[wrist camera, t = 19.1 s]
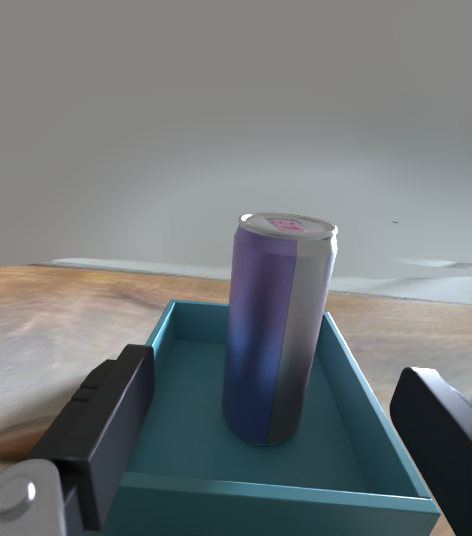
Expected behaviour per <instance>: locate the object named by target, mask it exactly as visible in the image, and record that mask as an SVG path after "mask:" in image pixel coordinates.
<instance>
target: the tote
mask: <svg viewBox="0 0 472 536" xmlns="http://www.w3.org/2000/svg"><path fill="white" fill-rule="evenodd" d="M228 313H229V304H223V303H211V302H199V301H187V300H176V299H171V300H170V302H169V304H168V305H167V307H166V309H165V311H164V312H163V314H162V316H161V318H160V320H159V321H158V323H157V325H156V327H155V328H154V330H153V332H152V334H151V335H150V337H149V339H148V341H147V343H146V344H145V345H147V346H152V347H153V349H154V369H155V390H154V396H153V400H152V403H151V406H150V409H149V411H148V414H147V416H146V419H145V421H144V424H143V426H142V429H141V431H140V434H139V436H138V439H137V441H136V444H135V446H134V449H133V451H132V454H131V456H130V459H129V461H128V464H127V466H126V469H125V471H124V474H123V476H122V479H121V482H120V484H119V487H118V489H117V492H116V494H115V497H114V499H113V502H112V504H111V507H110V509H109V512H108V514H107V517H106V519H105V522H104V524H103V527H102V529H101V531H90V530H85V532H84V534H83V536H429V535H430V533H431V531H432V529H433V528H434V526H435V524H436V522H437V520H438V519H439V517H440V515H441V514H440V512H439V510H438V508H437V506H436V505H435V503H434V501H433V500H432V498H431V496H430V494H429V492H428V490H427V489H426V487H425V485H424V483H423V481H422V480H421V478H420V476H419V474H418V472H417V471H416V469H415V467H414V465H413V463H412V462H411V460H410V458H409V456H408V454H407V453H406V451H405V449H404V447H403V446H402V444H401V442H400V440H399V438H398V437H397V435H396V433H395V431H394V429H393V428H392V426H391V424H390V422H389V420H388V419H387V417H386V415H385V413H384V411H383V410H382V408H381V406H380V404H379V402H378V401H377V399H376V397H375V395H374V393H373V392H372V390H371V388H370V386H369V384H368V383H367V381H366V379H365V377H364V375H363V374H362V372H361V370H360V368H359V366H358V365H357V363H356V361H355V359H354V357H353V356H352V354H351V352H350V350H349V348H348V347H347V345H346V343H345V341H344V339H343V338H342V336H341V334H340V332H339V330H338V329H337V327H336V325H335V323H334V322H333V320H332V318H331V316H330V314H329V313H328V312H323V316H322V321H321V325H320V330H319V335H318V339H317V344H316V348H315V353H314V358H313V362H312V367H311V371H310V376H309V381H308V385H307V390H306V394H305V399H304V404H303V408H302V413H301V418H300V422H299V425H298V428H297V429H296V431H295V432H294V433H293V434H292V435H291V436H290V437H289V438H288V439H286V440H284V441H282V442H280V443H278V444H274V445H268V446H261V445H255V444H252V443H249V442H247V441H245V440H243V439H242V438H240V437H239V436H238V435H237V434H235V433H234V432H233V430H232V429H231V428H230V427H229V425H228V424H227V422H226V421H225V419H224V416H223V413H222V394H223V380H224V367H225V353H226V340H227V326H228Z"/></svg>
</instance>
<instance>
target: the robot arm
mask: <svg viewBox="0 0 472 536" xmlns="http://www.w3.org/2000/svg"><path fill="white" fill-rule="evenodd" d="M154 390H155V369H154V349H153V347H152V346H147V345H135V344H128V345H126V347H125V348H124V349H123V351H122V352H121V354H120V355H119V357H118V358H117V360H109V359H107V360H106V361H104V362H103V363H102V364H100V365H99V366H98V367H96V368H95V369H93V370H92V371H91V372H90V374H89V375H88V376H87V378H86V379H85V380H84V382H83V383H82V384H81V387H80V388H78V390H77V391H76V392H75V394H74V395H73V396H72V398H71V401H69V402H68V403H67V404H66V406H65V407H64V408H63V410H62V411H61V412H60V414H59V415H58V416H57V418H56V419H55V420H54V422H53V423H52V424H51V426H50V427H49V428H48V430H47V431H46V432H45V434H44V435H43V436H42V438H41V439H40V440H39V442H38V443H37V444H36V446H35V447H34V448H33V450H32V451H31V452H30V454H29V455H28V456H27V457H26V458H25V460H24V461H23V462H20V463H17V464H15V465H13V466H11V467H9V468H7V469H5V470H4V471H2V472H0V536H83V534H84V532H85V530H90V531H101V529H102V527H103V524H104V522H105V519H106V517H107V514H108V512H109V509H110V507H111V504H112V502H113V499H114V497H115V494H116V492H117V489H118V487H119V484H120V482H121V479H122V476H123V474H124V471H125V469H126V466H127V464H128V461H129V459H130V456H131V454H132V451H133V449H134V446H135V444H136V441H137V439H138V436H139V434H140V431H141V429H142V426H143V424H144V421H145V419H146V416H147V414H148V411H149V409H150V406H151V403H152V400H153V396H154ZM390 416H391V420H392V423H393V425H394V427H395V429H396V430H397V432H398V434H399V436H400V437H401V439H402V441H403V443H404V444H405V446H406V448H407V450H408V452H409V453H410V455H411V457H412V459H413V460H414V462H415V464H416V466H417V467H418V469H419V471H420V473H421V475H422V476H423V478H424V480H425V482H426V483H427V485H428V487H429V489H430V490H431V492H432V494H433V496H434V498H435V499H436V501H437V503H438V505H439V506H440V508H441V510H442V512H443V513H444V515H445V517H446V519H447V521H448V522H449V524H450V526H451V528H452V529H453V531H454V533H455V535H456V536H472V401H470V400H469V399H467V398H466V397H465V396H463V395H462V394H460V393H459V392H458V391H456V390H455V389H454V388H452V387H451V386H450V385H449V384H448V383H447V382H446V381H445V380H444V379H443V378H442V377H441V375H440V374H439V373H438V372H436V371H435V370H432V369H422V368H411V367H407V368H405V369H403V371H402V373H401V376H400V378H399V381H398V384H397V386H396V389H395V392H394V394H393V397H392V400H391V403H390Z"/></svg>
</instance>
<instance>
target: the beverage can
mask: <svg viewBox="0 0 472 536" xmlns="http://www.w3.org/2000/svg"><path fill="white" fill-rule="evenodd" d="M335 234H337V227H336V226H335V225H333V224H331V223H329V222H326V221H323V220H320V219H315V218H311V217H306V216H300V215H292V214H283V213H249V214H245V215H242V216H240V217H239V226H238V229H237V231H236V233H235V236H234V246H233V260H232V273H231V286H230V299H229V313H228V326H227V340H226V353H225V367H224V380H223V394H222V413H223V416H224V419H225V421H226V422H227V424H228V425H229V427H230V428H231V429H232V430H233V432H234V433H235V434H237V435H238V436H239V437H240V438H242V439H243V440H245V441H247V442H249V443H252V444H255V445H261V446H268V445H274V444H278V443H280V442H282V441H284V440H286V439H288V438H289V437H290V436H291V435H292V434H293V433H294V432H295V431H296V429H297V428H298V425H299V422H300V418H301V413H302V408H303V404H304V399H305V394H306V390H307V385H308V381H309V376H310V371H311V367H312V362H313V358H314V353H315V348H316V344H317V339H318V335H319V330H320V325H321V321H322V316H323V311H324V307H325V302H326V298H327V293H328V288H329V284H330V279H331V275H332V270H333V265H334V260H335V256H336V251H337V245H336V238H335Z"/></svg>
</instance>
